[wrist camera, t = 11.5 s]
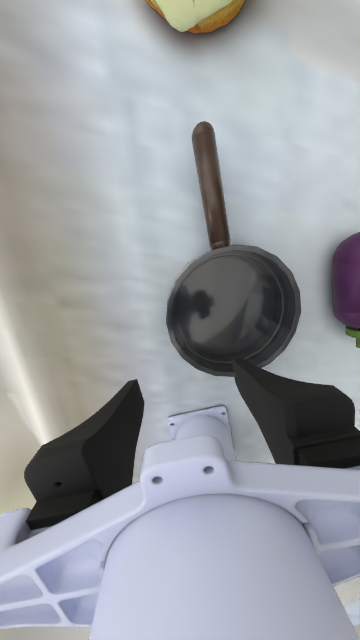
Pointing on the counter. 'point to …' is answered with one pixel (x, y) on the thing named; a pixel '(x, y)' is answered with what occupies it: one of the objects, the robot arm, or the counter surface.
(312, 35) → the counter surface
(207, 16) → the decorated donut
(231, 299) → the pan
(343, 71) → the counter surface
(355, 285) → the eggplant
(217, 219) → the pan handle
